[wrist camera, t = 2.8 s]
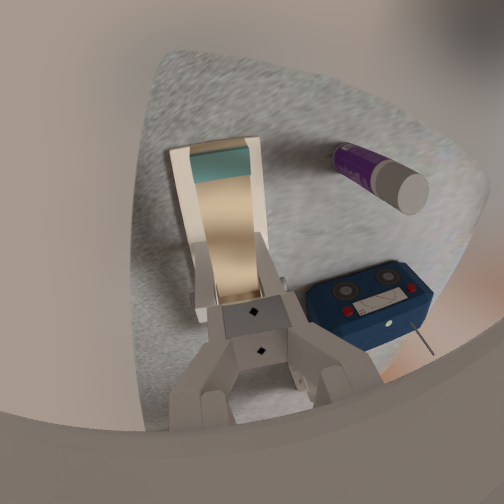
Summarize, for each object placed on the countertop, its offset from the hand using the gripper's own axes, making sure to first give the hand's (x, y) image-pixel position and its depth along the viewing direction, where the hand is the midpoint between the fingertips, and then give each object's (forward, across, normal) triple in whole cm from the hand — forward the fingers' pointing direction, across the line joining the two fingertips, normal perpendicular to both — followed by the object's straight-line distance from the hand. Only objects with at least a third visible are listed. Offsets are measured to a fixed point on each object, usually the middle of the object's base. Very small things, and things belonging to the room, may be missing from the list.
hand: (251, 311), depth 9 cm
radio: (+28, -22, +26) cm, 44 cm away
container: (+28, -18, +2) cm, 33 cm away
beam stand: (+28, 0, +12) cm, 30 cm away
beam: (+17, 0, +12) cm, 21 cm away
